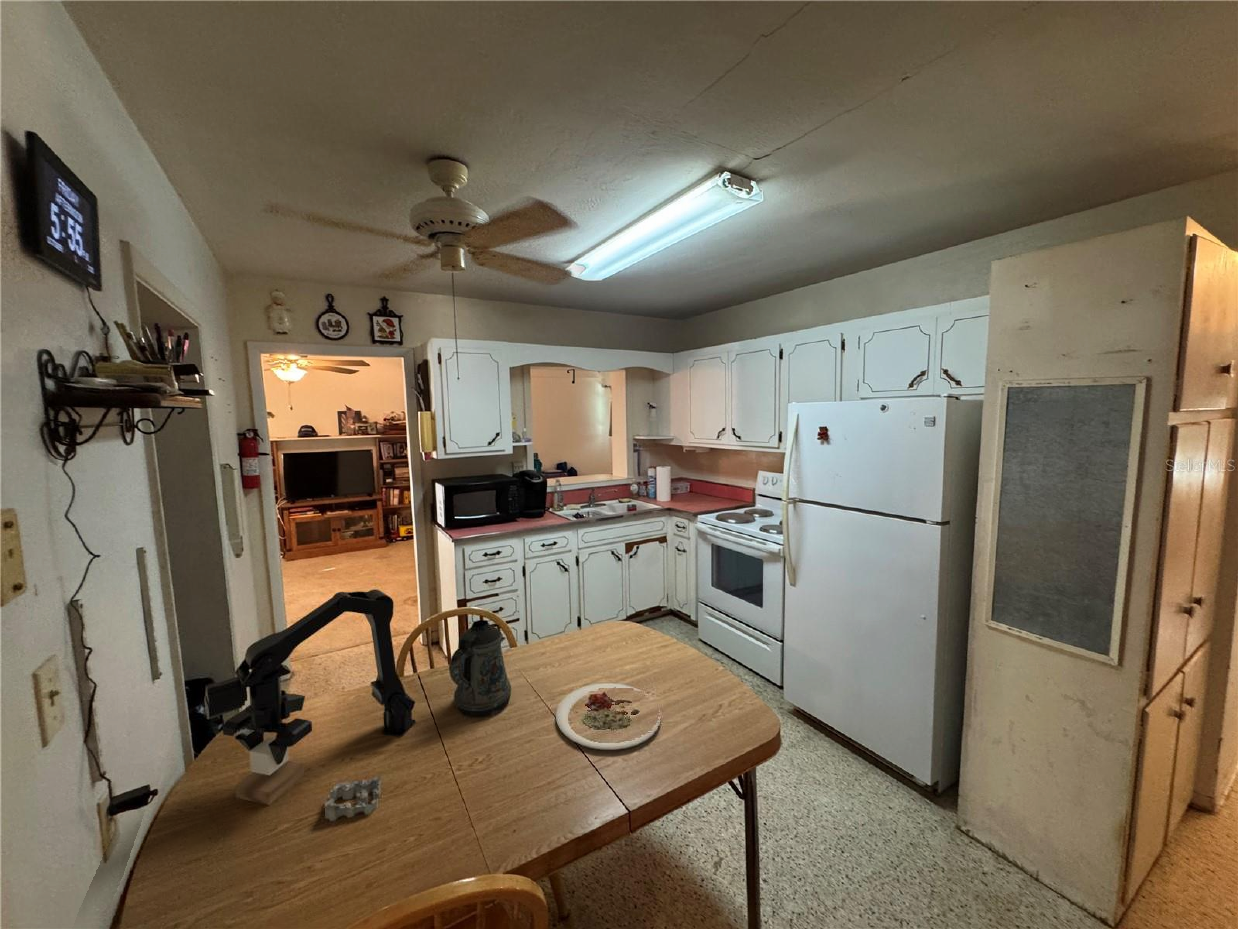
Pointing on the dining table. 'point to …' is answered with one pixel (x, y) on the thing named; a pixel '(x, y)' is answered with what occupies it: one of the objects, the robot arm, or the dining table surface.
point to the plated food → (599, 716)
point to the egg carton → (349, 791)
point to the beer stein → (480, 672)
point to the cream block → (265, 758)
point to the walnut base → (269, 783)
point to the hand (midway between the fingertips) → (270, 761)
